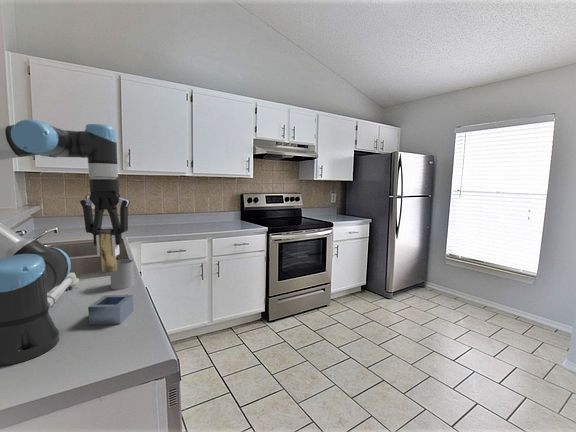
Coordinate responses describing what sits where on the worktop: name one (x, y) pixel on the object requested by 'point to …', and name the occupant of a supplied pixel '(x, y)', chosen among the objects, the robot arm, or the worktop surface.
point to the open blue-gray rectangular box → (110, 309)
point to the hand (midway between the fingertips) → (108, 255)
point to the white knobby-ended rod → (62, 288)
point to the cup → (123, 275)
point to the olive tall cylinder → (107, 250)
